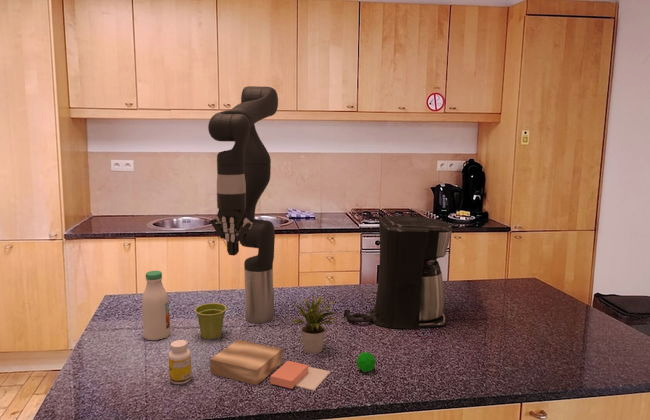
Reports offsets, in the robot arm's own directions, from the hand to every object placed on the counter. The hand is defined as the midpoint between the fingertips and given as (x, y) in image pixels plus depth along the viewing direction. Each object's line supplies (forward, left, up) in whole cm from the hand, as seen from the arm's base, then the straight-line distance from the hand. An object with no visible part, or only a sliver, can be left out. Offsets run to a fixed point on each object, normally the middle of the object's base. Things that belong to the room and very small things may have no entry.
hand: (233, 254), depth 135 cm
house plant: (-11, +18, -29) cm, 36 cm away
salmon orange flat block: (+5, +20, -27) cm, 34 cm away
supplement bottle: (+17, -5, -29) cm, 34 cm away
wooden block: (+5, +7, -29) cm, 30 cm away
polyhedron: (-7, +36, -29) cm, 47 cm away
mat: (+3, +22, -29) cm, 37 cm away
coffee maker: (-48, +33, -29) cm, 65 cm away
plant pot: (-8, -14, -29) cm, 33 cm away
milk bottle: (-1, -29, -29) cm, 41 cm away
